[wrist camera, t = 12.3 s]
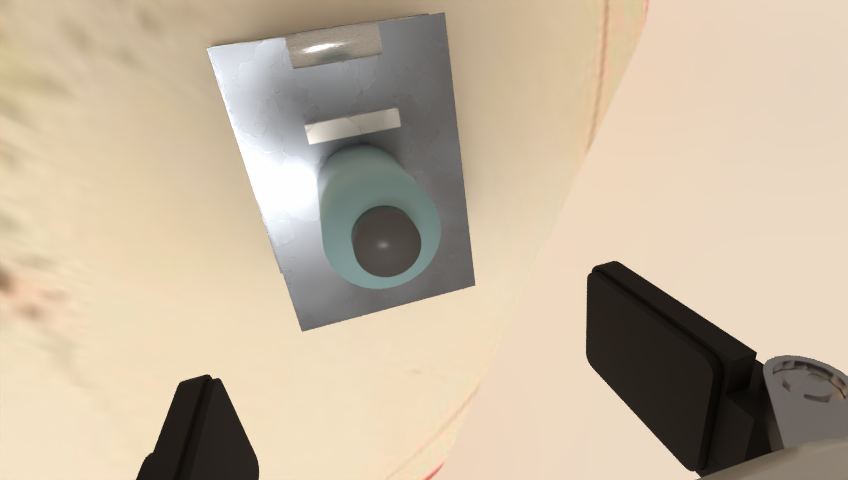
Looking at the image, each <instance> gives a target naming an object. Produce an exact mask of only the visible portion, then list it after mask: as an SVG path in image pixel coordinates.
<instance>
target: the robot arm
mask: <svg viewBox="0 0 848 480" xmlns="http://www.w3.org/2000/svg"><path fill="white" fill-rule="evenodd" d="M756 354H757V352H755V351H754V350H752V349H751V348H749V347H748V346H746V345H745V344H743V343H742V342H740V341H738V340H737V339H736V338H734V337H732V336H731V335H729V334H728V333H726V332H724V331H723V330H722V329H720V328H719V327H717V326H716V325H714V324H713V323H711V322H709V321H708V320H706V319H705V318H703V317H702V316H700V315H699V314H697V313H696V312H694V311H693V310H691V309H690V308H688V307H687V306H685V305H684V304H682V303H681V302H679V301H678V300H676V299H674V298H673V297H671V296H670V295H668V294H667V293H665V292H664V291H662V290H661V289H659V288H658V287H656V286H655V285H653V284H652V283H650V282H649V281H647V280H645V279H644V278H642V277H641V276H639V275H638V274H636V273H635V272H633V271H632V270H630V269H628V268H627V267H626V266H624V265H623V264H621V263H619V262H617V261H612V262H609V263H605V264H601V265H598V266H595V267H594V268H593V269H592V273H590V274H589V275H588V277H587V328H586V355H587V359H588V362H589V363H590V365H591V366H592V368H593V369H594V370H595V371H596V372H597V373H598V374H599V375H600V376H601V377H602V379H603V380H605V382H607V384H608V385H609V386H610V387H611V388H612V389H613V390H614V391H615V393H616V394H617V395H618V396H619V397H620V398H621V399H622V400H623V401H624V402H625V403H626V404H627V405H628V407H630V409H631V410H632V411H633V412H634V413H635V414H636V415H637V416H638V417H639V418H640V419H641V421H642V422H643V423H644V424H645V425H646V426H647V427H648V428H649V429H650V430H651V431H652V432H653V433H654V435H655V436H656V437H657V438H658V439H659V440H660V441H661V442H662V443H663V444H664V445H665V446H666V448H667V449H668V450H669V451H670V452H671V453H672V454H673V455H674V456H675V457H676V458H677V459H678V460H679V462H680V463H681V464H682V465H683V466H684V467H685V468H686V469H688V470H690V471H696V473H697V474H698V475H699V476H700V477H701V478H699V479H697V480H848V376H846V375H845V374H844V373H843V372H841V371H839V370H838V369H835V368H834V367H832V366H830V365H828V364H825V363H823V362H820V361H817V360H815V359H811V358H806V357H801V356H791V355H785V356H777V357H774V358H771V359H769V360H767V362H766V363H765V364H762V363H761V362H759V361H757V360H756ZM258 479H259V465H258V460H257V457H256V455H255V453H254V451H253V448H252V446H251V444H250V442H249V440H248V437H247V435H246V433H245V431H244V429H243V427H242V424H241V422H240V420H239V418H238V416H237V413H236V411H235V409H234V407H233V405H232V403H231V400H230V398H229V396H228V394H227V392H226V389H225V387H224V385H223V383H222V381H221V380H220V379H219V378H216V379H212V377H211V376H210V375H207V374H206V375H203V376H199V377H196V378H192V379H189V380H185V381H182V382H180V383H179V385H178V387H177V390H176V392H175V395H174V398H173V400H172V403H171V406H170V408H169V411H168V414H167V416H166V419H165V422H164V425H163V427H162V430H161V433H160V435H159V438H158V441H157V443H156V446H155V449H154V451H153V453H150V454H149V455H148V456H147V457H146V458H145V460H144V462H143V464H142V466H141V468H140V471H139V473H138V476H137V479H136V480H258Z"/></svg>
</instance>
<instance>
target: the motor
mask: <svg viewBox="0 0 848 480" xmlns="http://www.w3.org/2000/svg"><path fill="white" fill-rule="evenodd" d="M206 49H207V52H208V55H209V58H210V61H211V64H212V67H213V70H214V73H215V76H216V79H217V82H218V85H219V88H220V91H221V94H222V97H223V100H224V103H225V106H226V109H227V112H228V115H229V118H230V121H231V124H232V127H233V130H234V133H235V136H236V139H237V142H238V145H239V148H240V151H241V154H242V157H243V160H244V163H245V167H246V170H247V173H248V176H249V179H250V182H251V185H252V188H253V191H254V194H255V197H256V200H257V203H258V206H259V209H260V212H261V215H262V218H263V221H264V224H265V227H266V230H267V233H268V236H269V239H270V242H271V245H272V248H273V251H274V254H275V257H276V260H277V263H278V266H279V269H280V272H281V273H283V275H284V279H285V282H286V285H287V288H288V291H289V294H290V297H291V300H292V303H293V306H294V309H295V312H296V315H297V318H298V321H299V324H300V327H301V330H302V332H303V331H307V330H310V329H314V328H318V327H322V326H325V325H329V324H333V323H337V322H340V321H344V320H348V319H351V318H355V317H359V316H363V315H366V314H370V313H374V312H378V311H381V310H385V309H389V308H393V307H396V306H400V305H404V304H407V303H411V302H415V301H419V300H422V299H426V298H430V297H434V296H437V295H441V294H445V293H449V292H452V291H456V290H460V289H464V288H467V287H471V286H475V278H474V270H473V261H472V252H471V243H470V234H469V225H468V216H467V208H466V199H465V190H464V181H463V172H462V163H461V154H460V146H459V137H458V128H457V119H456V110H455V101H454V92H453V83H452V75H451V66H450V57H449V48H448V39H447V30H446V21H445V13H438V14H432V15H429V14H423V15H416V16H410V17H403V18H395V19H387V20H379V21H371V22H364V23H357V24H350V25H343V26H337V27H330V28H324V29H317V30H311V31H305V32H299V33H293V34H287V35H282V36H276V37H271V38H265V39H260V40H254V41H248V42H241V43H235V44H228V45H222V46H215V47H209V48H206ZM358 144H367V145H373V146H377V147H379V148H382V149H384V150H385V151H387V152H388V153H390V154H391V155H392V156H393V157H394V158H395V159H396V160H397V161H398V162H399V163H400V164H401V166H402V167H403V168H404V169H405V170H406V171H407V172H408V174H409V175H410V176H411V177H412V178H413V179H414V180H415V181H416V183H417V184H418V185H419V186H420V187H421V188H422V189H423V191H424V192H425V193H426V194H427V195H428V196H429V198H430V199H431V200H432V201H433V203H434V205H435V207H436V209H437V211H438V214H439V218H440V222H441V237H440V242H439V246H438V249H437V251H436V253H435V255H434V257H433V259H432V260H431V262H430V263H429V264H428V266H427V267H426V268H425V269H424V270H423V271H422V272H421V273H420V274H418V275H417V276H416V277H415V278H413V279H411V280H410V281H408V282H406V283H404V284H401V285H398V286H395V287H391V288H384V289H371V288H365V287H361V286H358V285H355V284H353V283H351V282H349V281H347V280H346V279H344V278H343V277H342V276H340V275H339V274H338V273H337V272H336V271H335V270H334V269H333V267H332V266H331V265H330V263H329V261H328V259H327V257H326V254H325V252H324V248H323V242H322V232H321V221H320V211H319V200H318V189H317V187H318V179H319V175H320V172H321V170H322V168H323V166H324V165H325V163H326V162H327V160H328V159H329V158H330V157H331V156H332V155H334V154H335V153H336V152H338V151H339V150H341V149H343V148H346V147H348V146H352V145H358Z"/></svg>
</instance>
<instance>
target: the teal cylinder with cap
mask: <svg viewBox="0 0 848 480" xmlns="http://www.w3.org/2000/svg"><path fill="white" fill-rule="evenodd" d="M317 189H318V200H319V211H320V221H321V232H322V242H323V248H324V252H325V254H326V257H327V259H328V261H329V263H330V265H331V266H332V267H333V269H334V270H335V271H336V272H337V273H338V274H339V275H340V276H342V277H343V278H344V279H346V280H347V281H349V282H351V283H353V284H355V285H358V286H361V287H365V288H371V289H384V288H391V287H395V286H398V285H401V284H404V283H406V282H408V281H410V280H411V279H413V278H415V277H416V276H417V275H418V274H420V273H421V272H422V271H423V270H424V269H425V268H426V267H427V266H428V264H429V263H430V262H431V260H432V259H433V257H434V255H435V253H436V251H437V249H438V246H439V242H440V237H441V222H440V218H439V214H438V211H437V209H436V207H435V205H434V203H433V201H432V200H431V199H430V198H429V196H428V195H427V194H426V193H425V192H424V191H423V189H422V188H421V187H420V186H419V185H418V184H417V183H416V181H415V180H414V179H413V178H412V177H411V176H410V175H409V174H408V172H407V171H406V170H405V169H404V168H403V167H402V166H401V164H400V163H399V162H398V161H397V160H396V159H395V158H394V157H393V156H392V155H391V154H390V153H388V152H387V151H385V150H384V149H382V148H379V147H377V146H373V145H367V144H358V145H352V146H348V147H346V148H343V149H341V150H339V151H338V152H336V153H335V154H334V155H332V156H331V157H330V158H329V159H328V160H327V162H326V163H325V165H324V166H323V168H322V170H321V172H320V175H319V179H318V187H317Z"/></svg>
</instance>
